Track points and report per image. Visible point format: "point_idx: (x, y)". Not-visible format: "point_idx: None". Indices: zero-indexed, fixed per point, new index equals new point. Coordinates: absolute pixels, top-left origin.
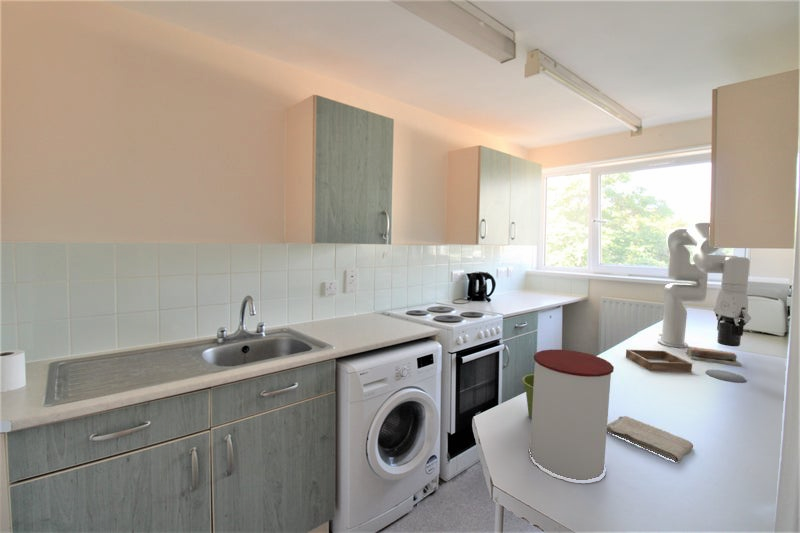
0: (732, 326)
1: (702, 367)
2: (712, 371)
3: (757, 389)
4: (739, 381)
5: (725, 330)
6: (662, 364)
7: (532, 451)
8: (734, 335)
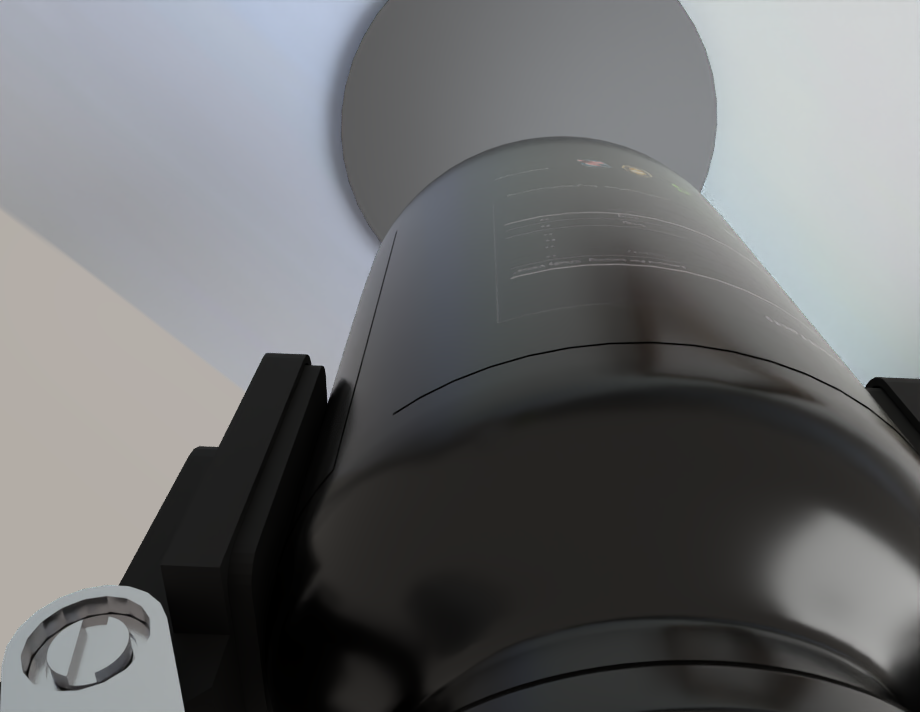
0: (305, 519)
1: (835, 102)
2: (648, 77)
3: (156, 170)
4: (344, 151)
5: (456, 294)
6: None
7: None
8: (271, 357)
